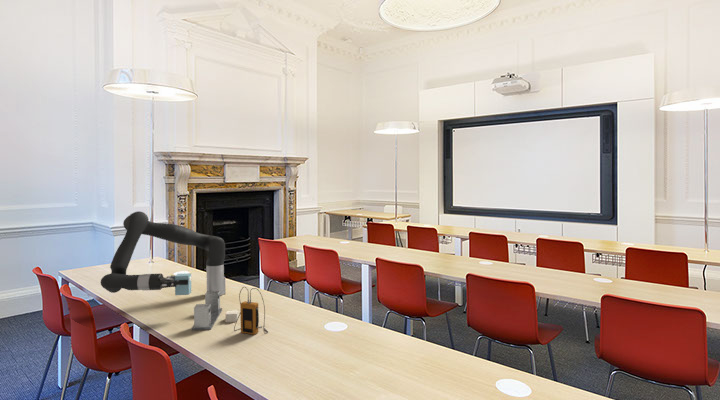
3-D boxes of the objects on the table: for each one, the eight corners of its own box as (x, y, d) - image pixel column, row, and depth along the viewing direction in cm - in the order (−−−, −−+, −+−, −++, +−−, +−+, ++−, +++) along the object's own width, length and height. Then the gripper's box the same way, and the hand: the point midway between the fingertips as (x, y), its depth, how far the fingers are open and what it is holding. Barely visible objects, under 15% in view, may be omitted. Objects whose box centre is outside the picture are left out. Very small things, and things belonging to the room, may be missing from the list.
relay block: (227, 319, 185) (227, 310, 185) (238, 318, 186) (238, 310, 186) (225, 322, 180) (225, 314, 180) (236, 322, 181) (236, 313, 181)
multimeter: (275, 328, 173) (274, 283, 172) (262, 336, 164) (262, 289, 163) (246, 324, 178) (246, 280, 177) (233, 332, 169) (232, 286, 168)
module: (178, 292, 187) (177, 273, 186) (192, 292, 188) (191, 273, 187) (175, 295, 182) (174, 276, 182) (189, 294, 183) (189, 275, 183)
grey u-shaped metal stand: (205, 310, 196) (205, 291, 195) (222, 310, 197) (222, 290, 197) (191, 330, 170) (191, 307, 170) (211, 329, 171) (210, 306, 171)
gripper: (144, 277, 175) (185, 276, 178) (156, 270, 189) (193, 269, 192) (144, 294, 175) (185, 292, 178) (156, 285, 190) (193, 284, 192)
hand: (189, 280), depth 185 cm, fingers closed on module, 4 cm apart
